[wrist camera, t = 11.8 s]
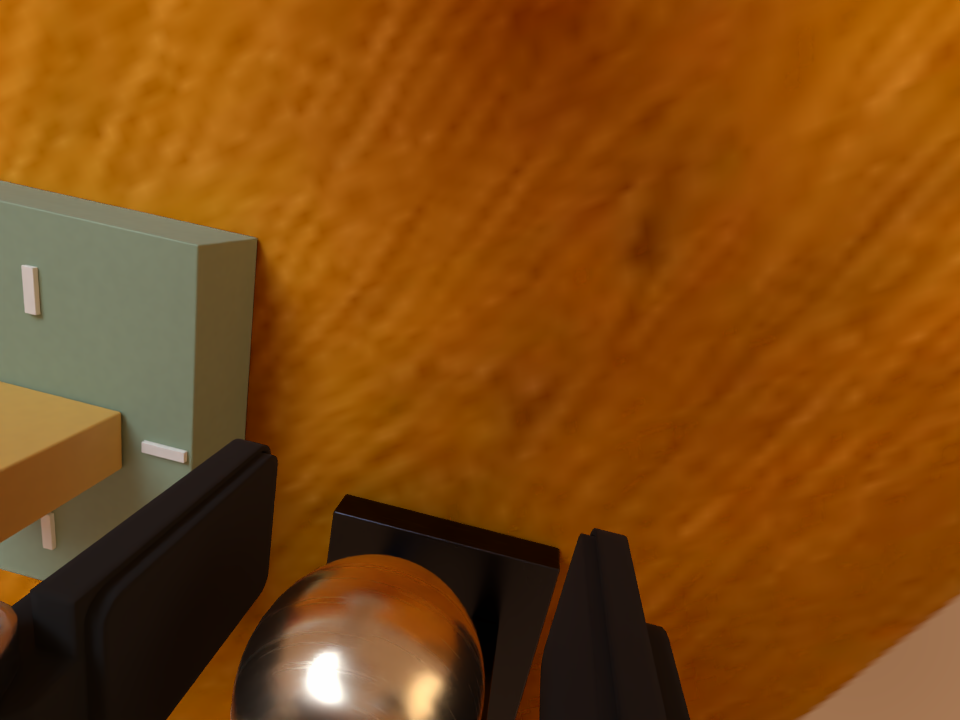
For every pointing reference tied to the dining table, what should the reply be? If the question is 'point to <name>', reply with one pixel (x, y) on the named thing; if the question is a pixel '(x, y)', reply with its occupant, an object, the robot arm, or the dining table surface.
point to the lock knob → (50, 453)
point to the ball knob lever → (363, 648)
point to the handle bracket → (466, 582)
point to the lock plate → (123, 347)
